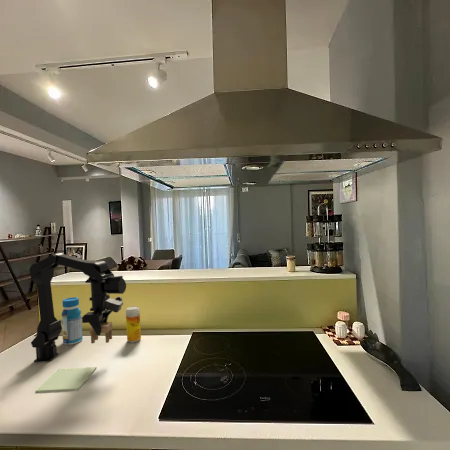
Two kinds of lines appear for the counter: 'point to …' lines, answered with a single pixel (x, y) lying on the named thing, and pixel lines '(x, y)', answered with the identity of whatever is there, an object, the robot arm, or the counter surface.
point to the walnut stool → (105, 328)
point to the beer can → (133, 324)
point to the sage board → (67, 379)
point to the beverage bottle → (71, 321)
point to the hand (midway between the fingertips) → (101, 332)
